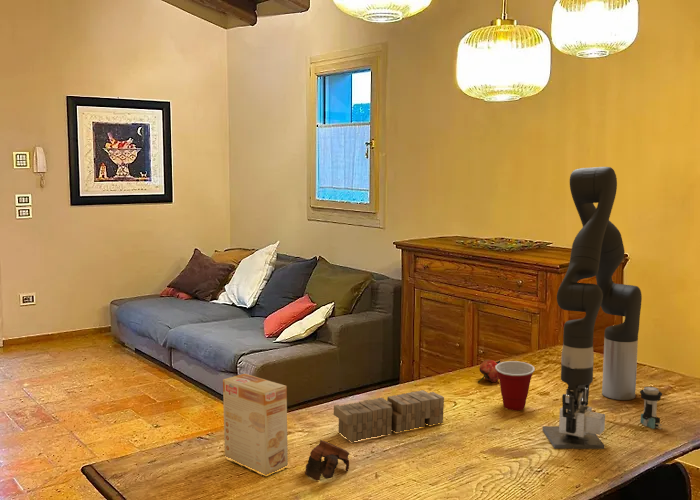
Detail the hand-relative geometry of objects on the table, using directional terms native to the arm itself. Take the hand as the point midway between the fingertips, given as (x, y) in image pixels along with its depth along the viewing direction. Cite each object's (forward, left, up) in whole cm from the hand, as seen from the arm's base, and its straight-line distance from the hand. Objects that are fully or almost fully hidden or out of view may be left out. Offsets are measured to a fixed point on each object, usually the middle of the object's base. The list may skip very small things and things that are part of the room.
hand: (574, 428), depth 179 cm
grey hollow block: (+1, +1, -1) cm, 2 cm away
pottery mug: (+21, -60, -3) cm, 64 cm away
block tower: (-7, -46, -3) cm, 47 cm away
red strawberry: (-47, -13, -3) cm, 49 cm away
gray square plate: (0, 0, -3) cm, 3 cm away
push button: (-9, +23, -3) cm, 25 cm away
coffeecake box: (+16, -77, -3) cm, 79 cm away
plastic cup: (-23, -10, -3) cm, 26 cm away
